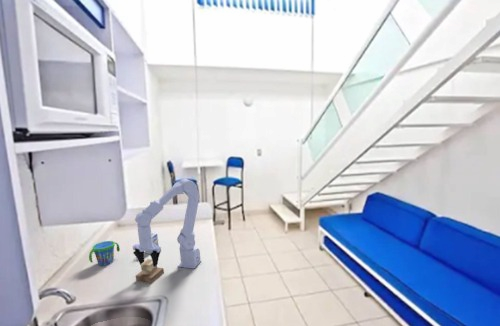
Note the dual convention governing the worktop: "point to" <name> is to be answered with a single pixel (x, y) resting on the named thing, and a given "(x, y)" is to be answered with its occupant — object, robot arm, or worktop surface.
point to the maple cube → (148, 267)
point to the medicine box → (154, 242)
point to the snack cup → (104, 252)
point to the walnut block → (150, 276)
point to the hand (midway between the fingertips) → (148, 264)
